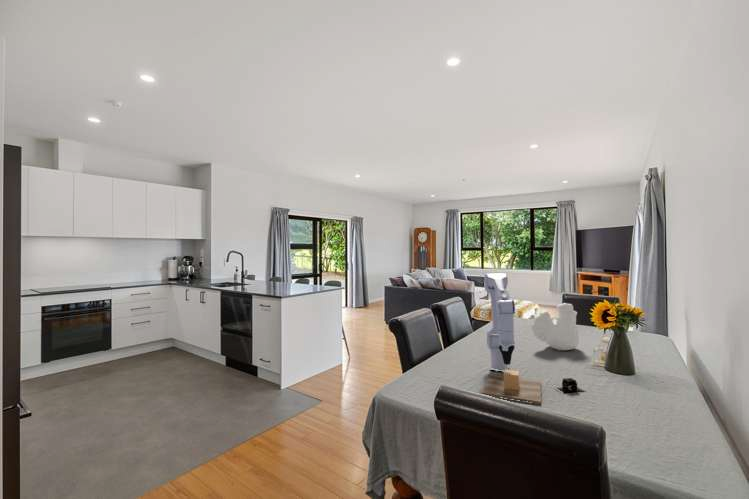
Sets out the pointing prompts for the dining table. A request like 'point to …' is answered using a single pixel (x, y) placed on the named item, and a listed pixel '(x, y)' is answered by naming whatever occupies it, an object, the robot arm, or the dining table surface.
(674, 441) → the dining table surface
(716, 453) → the dining table surface
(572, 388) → the black winged block
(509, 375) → the tan wooden cube
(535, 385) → the base board
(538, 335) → the decorative rooster
